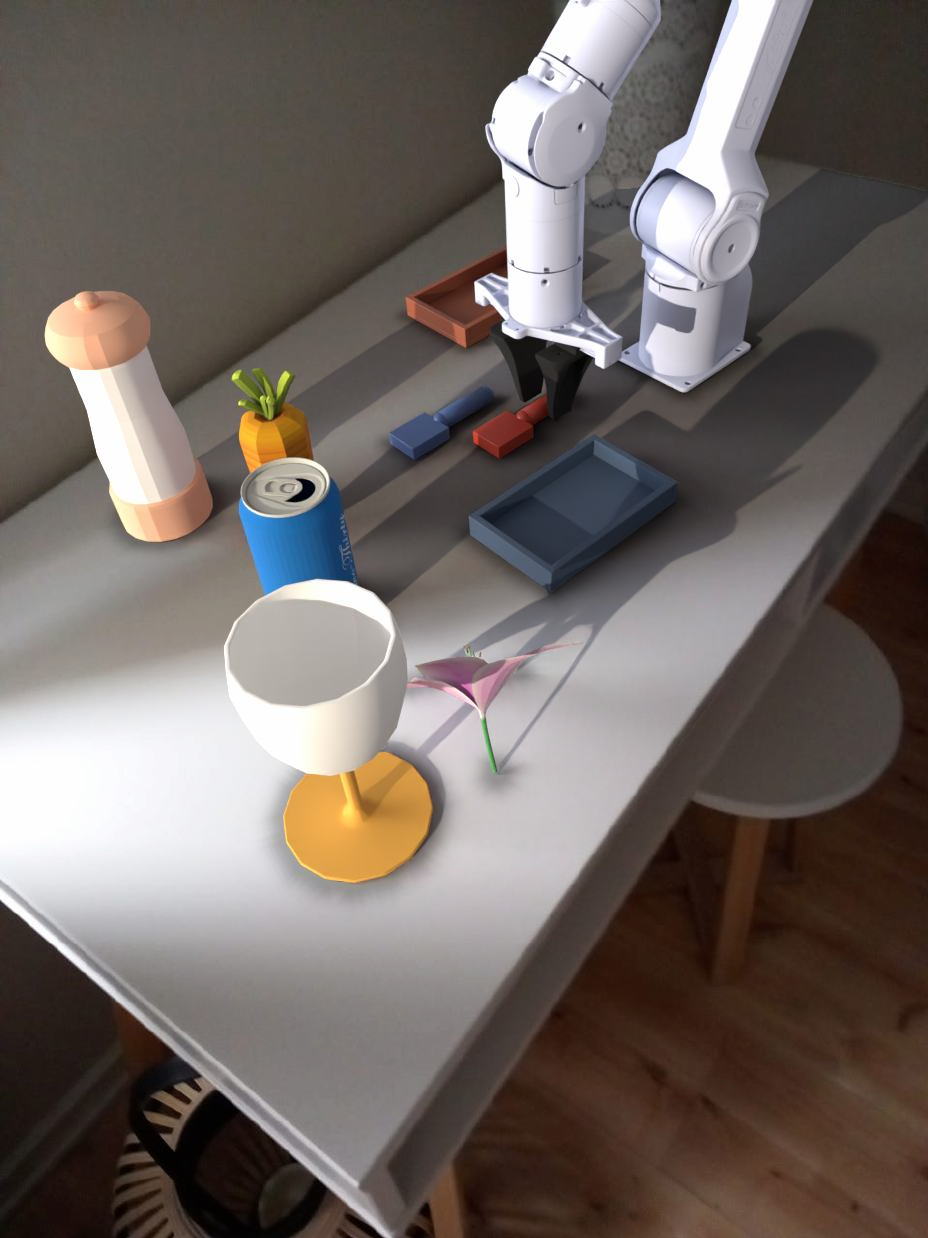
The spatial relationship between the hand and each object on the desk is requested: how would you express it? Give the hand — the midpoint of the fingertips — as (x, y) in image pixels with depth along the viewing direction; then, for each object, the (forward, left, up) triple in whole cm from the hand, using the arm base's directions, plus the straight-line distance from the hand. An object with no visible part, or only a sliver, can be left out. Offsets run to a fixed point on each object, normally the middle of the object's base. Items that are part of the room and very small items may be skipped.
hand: (545, 404), depth 83 cm
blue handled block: (+7, -5, -1) cm, 9 cm away
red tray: (-9, -17, -1) cm, 19 cm away
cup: (+36, +20, -1) cm, 41 cm away
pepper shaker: (+30, -13, -1) cm, 33 cm away
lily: (+26, +20, -1) cm, 33 cm away
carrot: (+24, -3, -1) cm, 24 cm away
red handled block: (+2, 0, -1) cm, 2 cm away
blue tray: (+8, +11, -1) cm, 14 cm away
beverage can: (+28, +5, -1) cm, 28 cm away
